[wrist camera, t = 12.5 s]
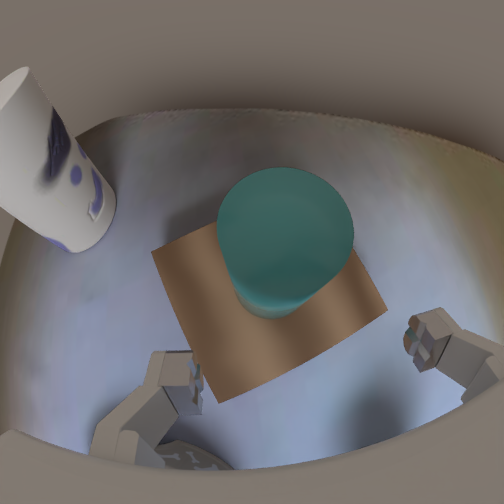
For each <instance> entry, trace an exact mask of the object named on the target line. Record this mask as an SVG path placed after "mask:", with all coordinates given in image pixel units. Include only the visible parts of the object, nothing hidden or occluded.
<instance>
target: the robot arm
mask: <svg viewBox="0 0 504 504" xmlns="http://www.w3.org/2000/svg"><path fill="white" fill-rule="evenodd" d="M408 325H409V328H408V329H407V331H406V332H405V334H404V338H403V341H404V347H405V350H406V351H407V353H408V354H409V355H411V356H413V363H414V364H415V366H416V367H417V369H418V371H419V372H420V373H421V372H423V371H426V370H429V369H432V368H434V367H436V369H438V370H439V371H441V372H442V373H444V374H445V375H447V376H448V377H450V378H451V379H453V380H454V381H456V382H457V383H459V384H460V385H462V386H463V387H465V388H466V391H465V392H464V393H463V395H462V396H461V400H462V402H463V404H462V405H461V406H459V407H457V408H455V409H454V410H452V411H450V412H448V413H446V414H444V415H442V416H440V417H438V418H436V419H434V420H432V421H430V422H428V423H426V424H424V425H422V426H419V427H417V428H415V429H413V430H410V431H408V432H405V433H403V434H400V435H398V436H395V437H393V438H390V439H387V440H385V441H382V442H379V443H376V444H373V445H370V446H367V447H364V448H360V449H357V450H354V451H350V452H347V453H343V454H339V455H335V456H331V457H327V458H322V459H317V460H313V461H307V462H302V463H296V464H290V465H283V466H276V467H267V468H257V469H245V470H221V471H202V470H178V469H165V461H164V460H163V459H162V458H161V457H160V456H159V455H158V454H157V453H156V452H155V451H154V449H155V447H156V446H157V445H158V443H159V442H160V441H161V440H162V438H163V437H164V436H165V434H166V433H167V432H168V430H169V429H170V428H171V426H172V425H173V424H174V422H175V421H176V420H177V418H178V417H179V415H202V404H203V399H202V396H201V394H200V393H201V392H202V391H203V385H204V382H203V373H202V369H201V365H199V364H198V363H197V361H198V356H197V354H196V351H194V350H183V351H154V352H153V353H152V354H151V358H150V361H149V365H148V369H147V373H146V376H145V380H144V384H143V386H139V387H138V388H136V389H135V390H134V391H133V392H132V393H131V394H130V395H129V396H128V397H127V398H126V399H124V400H123V401H122V402H121V403H120V404H119V405H118V406H117V407H116V408H115V409H113V410H112V411H111V412H110V413H109V414H108V415H107V416H106V417H105V418H103V419H102V420H101V421H100V422H99V423H98V424H97V426H96V429H95V433H94V436H93V440H92V444H91V447H90V451H89V455H86V454H83V453H79V452H76V451H72V450H69V449H66V448H63V447H60V446H57V445H54V444H51V443H48V442H45V441H43V440H40V439H38V438H35V437H33V436H30V435H28V434H26V433H24V432H21V431H19V430H15V429H12V430H9V431H7V432H5V433H4V434H2V435H1V436H0V504H504V346H502V345H500V344H498V343H495V342H493V341H491V340H488V339H486V338H484V337H482V336H479V335H477V334H475V333H472V332H470V331H468V330H465V329H464V330H462V329H461V328H460V327H459V325H458V324H457V323H456V322H455V321H454V320H453V319H452V318H451V316H450V315H449V314H448V313H447V312H446V311H445V310H444V309H443V308H441V307H439V308H436V309H433V310H430V311H426V312H423V313H419V314H416V315H413V316H411V318H410V319H409V322H408Z"/></svg>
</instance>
